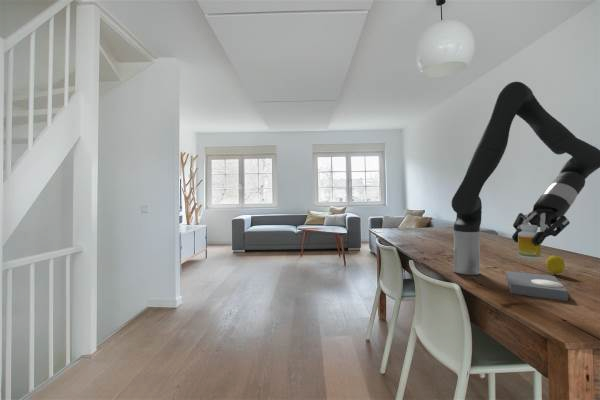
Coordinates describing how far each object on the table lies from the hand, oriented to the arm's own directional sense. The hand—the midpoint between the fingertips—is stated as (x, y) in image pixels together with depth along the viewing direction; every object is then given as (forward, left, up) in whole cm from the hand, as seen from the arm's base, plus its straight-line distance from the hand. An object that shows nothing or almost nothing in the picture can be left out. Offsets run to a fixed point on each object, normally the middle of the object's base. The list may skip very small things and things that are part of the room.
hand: (524, 241), depth 86 cm
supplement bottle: (+1, +1, -5) cm, 5 cm away
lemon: (+14, +40, -18) cm, 46 cm away
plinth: (+4, +16, -18) cm, 24 cm away
